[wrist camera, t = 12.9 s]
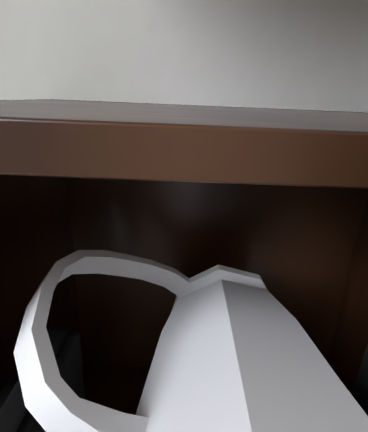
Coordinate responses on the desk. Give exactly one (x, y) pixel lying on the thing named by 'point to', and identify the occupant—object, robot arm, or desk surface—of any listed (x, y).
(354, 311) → the chest
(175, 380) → the cup
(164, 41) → the desk surface
